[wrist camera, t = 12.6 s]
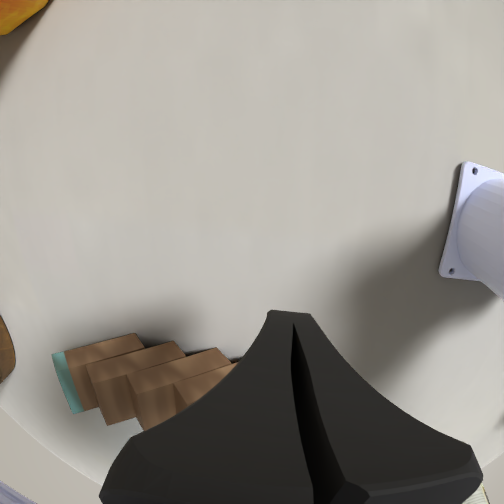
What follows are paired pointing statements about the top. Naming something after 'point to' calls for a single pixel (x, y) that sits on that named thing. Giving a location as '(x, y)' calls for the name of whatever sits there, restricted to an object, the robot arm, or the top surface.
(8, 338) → the wooden container
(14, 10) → the bucket of meat
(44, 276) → the top surface
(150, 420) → the domino
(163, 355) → the domino
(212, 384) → the domino
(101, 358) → the domino
